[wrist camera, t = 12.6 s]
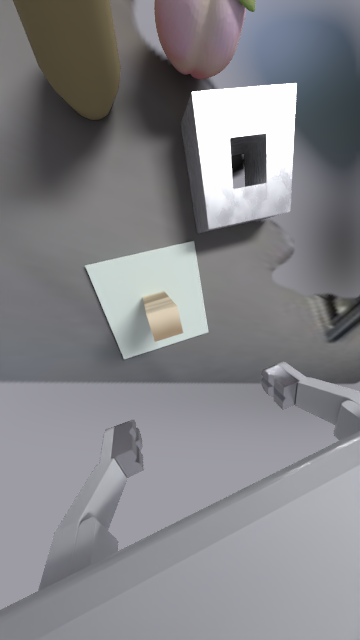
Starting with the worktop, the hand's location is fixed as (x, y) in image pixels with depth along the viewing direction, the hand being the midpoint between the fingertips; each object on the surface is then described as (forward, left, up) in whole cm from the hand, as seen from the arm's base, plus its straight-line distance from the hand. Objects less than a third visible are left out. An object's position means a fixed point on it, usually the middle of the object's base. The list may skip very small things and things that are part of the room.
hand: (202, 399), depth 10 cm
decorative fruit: (-30, +12, -24) cm, 40 cm away
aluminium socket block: (-17, +17, -24) cm, 34 cm away
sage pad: (0, 0, -24) cm, 24 cm away
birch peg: (0, 0, -23) cm, 23 cm away
